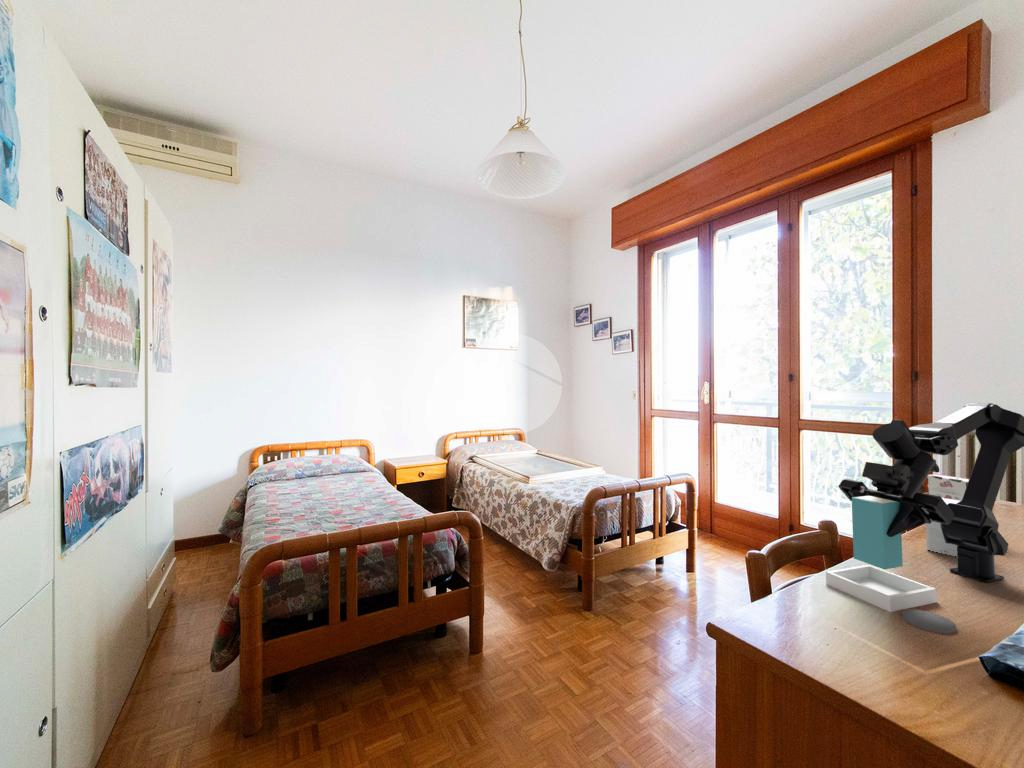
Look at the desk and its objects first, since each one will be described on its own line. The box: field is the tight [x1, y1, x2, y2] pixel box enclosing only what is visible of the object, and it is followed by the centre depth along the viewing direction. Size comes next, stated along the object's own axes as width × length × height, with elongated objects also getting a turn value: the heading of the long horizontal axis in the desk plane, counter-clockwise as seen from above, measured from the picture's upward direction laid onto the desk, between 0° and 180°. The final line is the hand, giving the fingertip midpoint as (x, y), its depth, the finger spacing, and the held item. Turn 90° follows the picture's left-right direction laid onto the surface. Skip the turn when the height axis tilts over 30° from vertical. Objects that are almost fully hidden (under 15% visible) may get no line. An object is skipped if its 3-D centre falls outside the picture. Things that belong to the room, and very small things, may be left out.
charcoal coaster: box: [901, 608, 957, 635], centre depth 78 cm, size 7×7×1 cm
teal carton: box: [851, 496, 904, 570], centre depth 90 cm, size 5×6×13 cm
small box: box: [925, 498, 960, 558], centre depth 112 cm, size 8×6×13 cm
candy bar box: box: [926, 474, 969, 501], centre depth 125 cm, size 11×5×16 cm, turn 5°
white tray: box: [825, 564, 938, 613], centre depth 89 cm, size 13×13×3 cm
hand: (871, 530), depth 89 cm, fingers closed on teal carton, 6 cm apart
